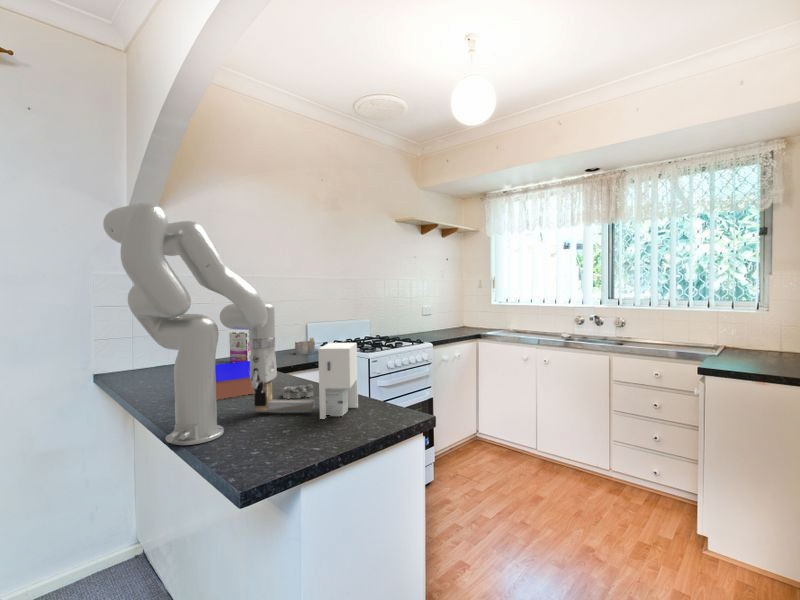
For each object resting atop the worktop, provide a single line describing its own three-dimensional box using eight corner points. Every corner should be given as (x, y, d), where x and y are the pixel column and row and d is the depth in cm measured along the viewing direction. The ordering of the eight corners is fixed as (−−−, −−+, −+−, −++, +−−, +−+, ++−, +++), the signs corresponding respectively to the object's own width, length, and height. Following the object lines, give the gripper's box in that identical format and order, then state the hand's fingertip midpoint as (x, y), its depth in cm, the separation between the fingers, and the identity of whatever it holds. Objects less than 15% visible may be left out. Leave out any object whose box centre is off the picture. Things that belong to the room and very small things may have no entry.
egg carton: (282, 401, 137) (282, 389, 137) (282, 395, 145) (282, 384, 144) (314, 398, 140) (313, 386, 140) (312, 393, 147) (312, 381, 147)
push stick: (311, 410, 120) (311, 384, 120) (254, 410, 121) (253, 384, 120) (315, 407, 124) (314, 381, 124) (259, 406, 125) (259, 381, 124)
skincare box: (323, 416, 119) (322, 391, 119) (329, 410, 125) (329, 386, 125) (343, 416, 118) (342, 392, 118) (348, 410, 124) (348, 387, 124)
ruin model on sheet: (313, 353, 247) (313, 337, 247) (314, 353, 244) (314, 337, 244) (295, 354, 242) (294, 338, 241) (296, 355, 239) (296, 339, 239)
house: (206, 394, 148) (205, 363, 148) (261, 386, 159) (260, 357, 159) (212, 401, 138) (211, 367, 138) (270, 392, 149) (270, 361, 149)
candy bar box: (253, 361, 216) (252, 331, 216) (247, 363, 211) (246, 332, 211) (236, 361, 219) (235, 331, 219) (229, 362, 214) (228, 332, 214)
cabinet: (350, 420, 115) (348, 348, 114) (319, 420, 115) (317, 349, 115) (358, 406, 128) (356, 342, 128) (330, 406, 129) (328, 342, 128)
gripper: (263, 347, 114) (264, 411, 114) (283, 340, 130) (284, 396, 131) (237, 347, 114) (239, 411, 114) (261, 340, 131) (262, 396, 131)
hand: (263, 402), depth 122 cm, fingers closed on push stick, 4 cm apart
